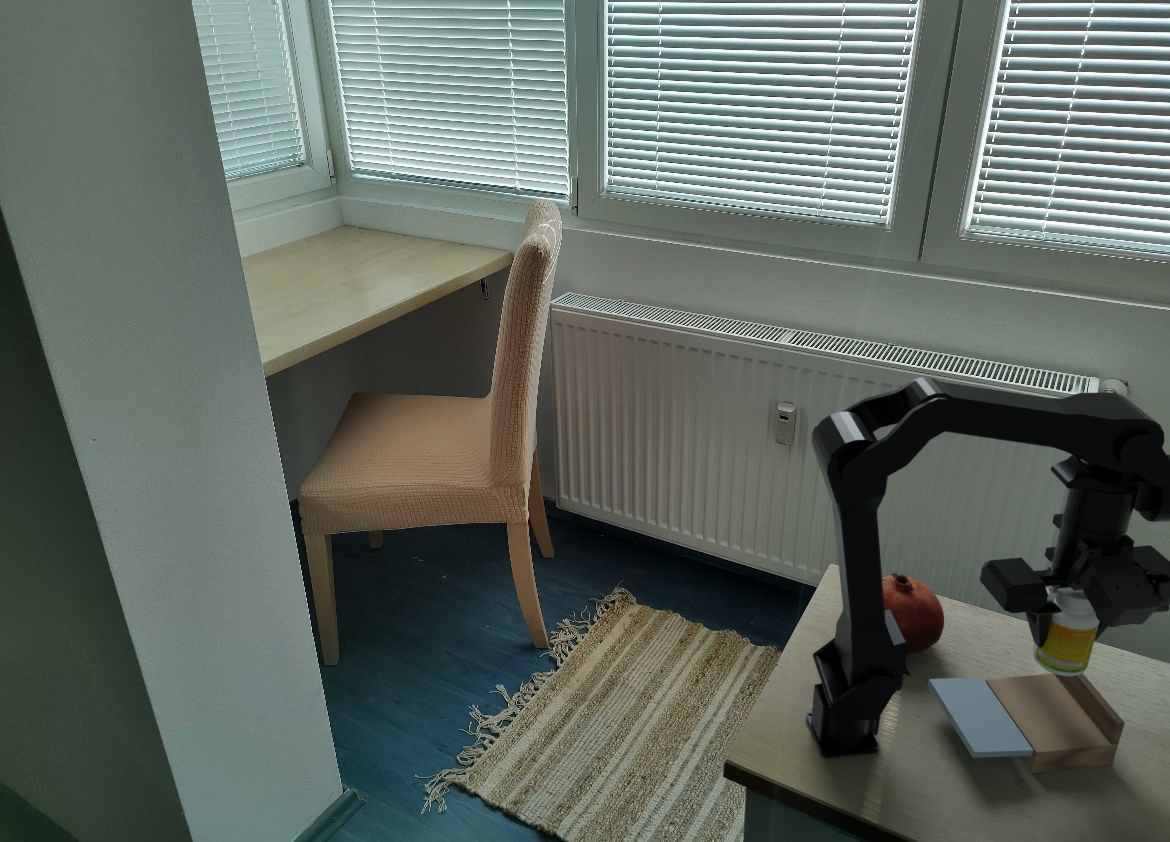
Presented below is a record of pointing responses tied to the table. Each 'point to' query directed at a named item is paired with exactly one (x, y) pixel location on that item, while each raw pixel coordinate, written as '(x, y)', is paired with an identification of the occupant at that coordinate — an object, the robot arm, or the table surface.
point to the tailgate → (979, 718)
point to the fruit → (914, 611)
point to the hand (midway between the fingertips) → (1063, 642)
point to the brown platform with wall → (1060, 720)
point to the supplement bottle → (1069, 635)
